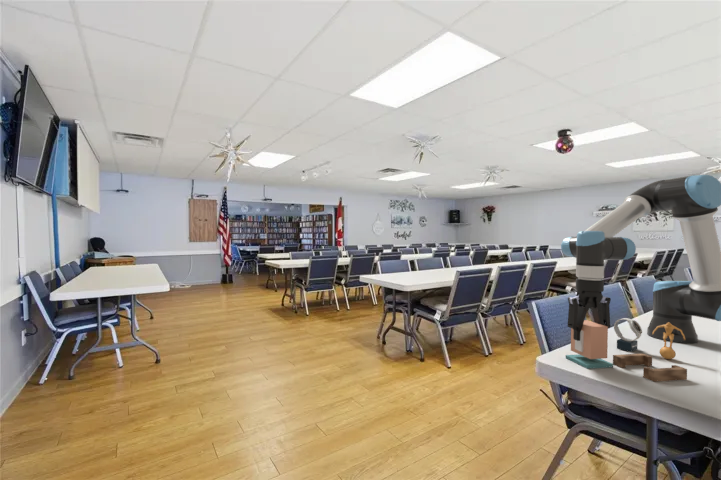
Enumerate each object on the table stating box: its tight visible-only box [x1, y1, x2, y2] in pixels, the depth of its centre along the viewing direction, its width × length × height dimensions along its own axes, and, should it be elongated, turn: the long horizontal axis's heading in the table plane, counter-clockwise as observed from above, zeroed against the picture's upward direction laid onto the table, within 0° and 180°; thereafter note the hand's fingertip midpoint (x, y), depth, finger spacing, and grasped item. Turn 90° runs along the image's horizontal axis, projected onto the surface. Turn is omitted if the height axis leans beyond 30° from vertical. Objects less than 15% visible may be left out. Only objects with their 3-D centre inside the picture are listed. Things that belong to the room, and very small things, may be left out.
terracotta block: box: [570, 319, 609, 360], centre depth 109 cm, size 6×8×10 cm
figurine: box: [652, 322, 685, 360], centre depth 114 cm, size 8×6×12 cm
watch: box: [613, 317, 643, 353], centre depth 123 cm, size 6×8×11 cm
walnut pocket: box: [612, 353, 688, 383], centre depth 102 cm, size 11×13×3 cm
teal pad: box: [565, 353, 614, 369], centre depth 110 cm, size 9×9×1 cm
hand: (588, 349), depth 110 cm, fingers closed on terracotta block, 6 cm apart
